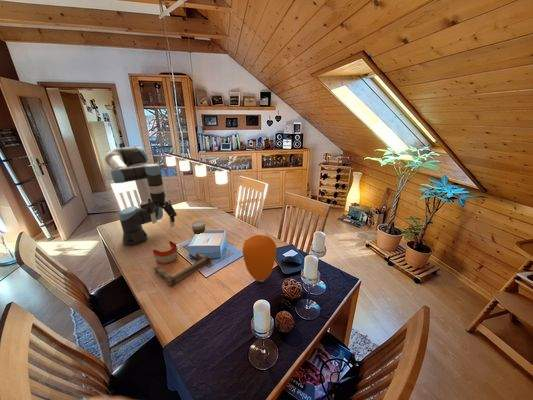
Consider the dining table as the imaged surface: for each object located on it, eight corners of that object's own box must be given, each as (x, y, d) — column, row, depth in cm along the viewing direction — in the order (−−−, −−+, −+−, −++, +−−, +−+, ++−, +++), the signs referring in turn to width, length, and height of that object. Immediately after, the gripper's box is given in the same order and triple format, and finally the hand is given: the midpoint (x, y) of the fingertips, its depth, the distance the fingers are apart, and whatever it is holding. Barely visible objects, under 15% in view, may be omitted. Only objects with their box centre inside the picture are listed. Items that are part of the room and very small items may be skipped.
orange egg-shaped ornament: (246, 268, 128) (244, 230, 119) (276, 269, 127) (276, 230, 118) (242, 291, 112) (239, 248, 103) (276, 291, 111) (276, 248, 102)
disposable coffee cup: (203, 243, 154) (201, 227, 149) (190, 241, 155) (188, 226, 151) (209, 236, 162) (207, 221, 158) (197, 234, 164) (195, 220, 160)
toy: (165, 267, 130) (163, 256, 127) (154, 261, 135) (152, 250, 132) (183, 256, 140) (181, 245, 137) (172, 251, 145) (170, 240, 142)
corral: (153, 274, 124) (152, 268, 123) (193, 252, 144) (192, 247, 142) (170, 287, 115) (169, 281, 113) (210, 262, 134) (210, 256, 132)
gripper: (134, 191, 128) (142, 224, 136) (170, 196, 121) (176, 231, 129) (145, 187, 135) (152, 218, 143) (179, 192, 127) (184, 225, 135)
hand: (163, 224), depth 136 cm, fingers open, 13 cm apart
